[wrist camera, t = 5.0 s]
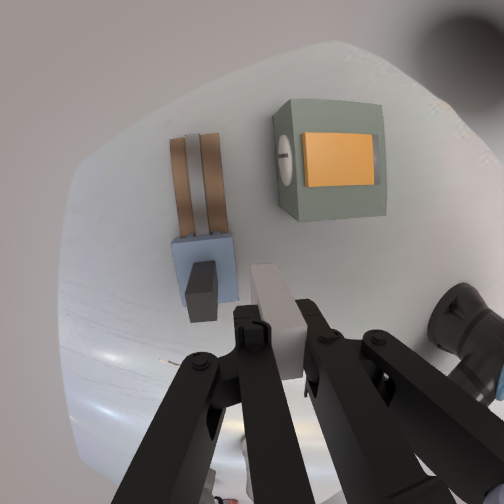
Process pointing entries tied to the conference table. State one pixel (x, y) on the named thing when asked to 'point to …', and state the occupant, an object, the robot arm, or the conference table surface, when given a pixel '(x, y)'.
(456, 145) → the conference table surface
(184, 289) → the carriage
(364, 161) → the orange slab
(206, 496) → the coffeepot
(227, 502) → the soda can
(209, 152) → the rail
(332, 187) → the gauge cabinet
